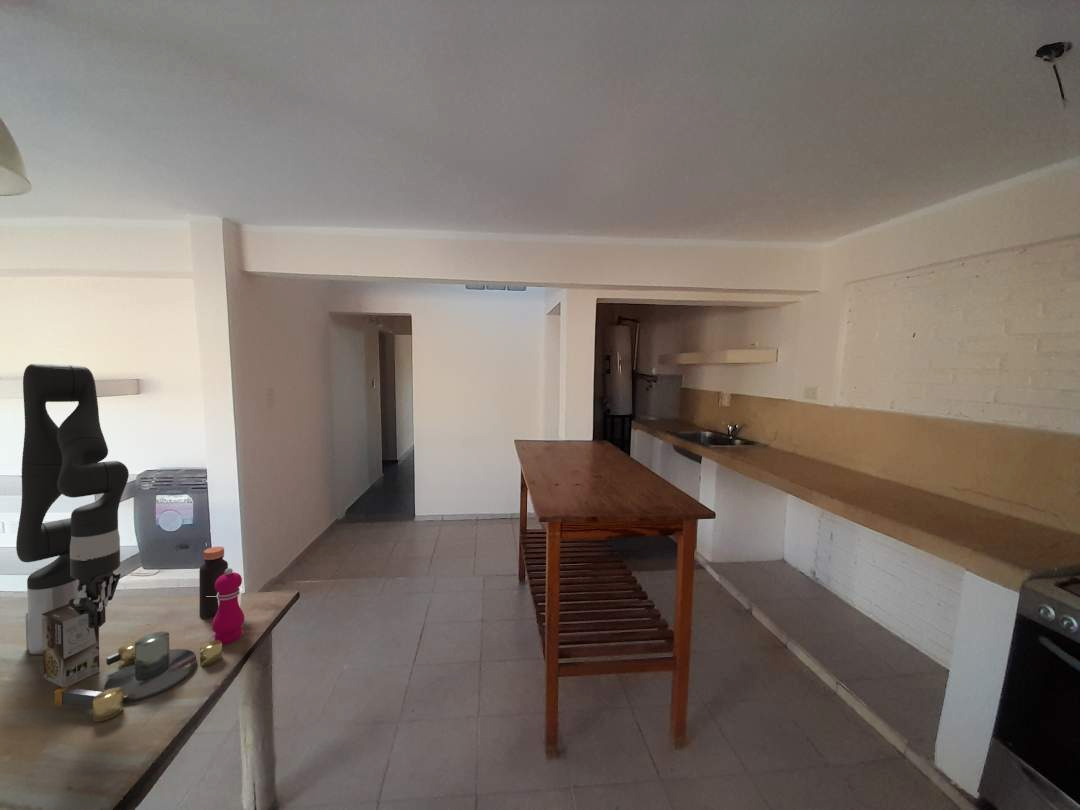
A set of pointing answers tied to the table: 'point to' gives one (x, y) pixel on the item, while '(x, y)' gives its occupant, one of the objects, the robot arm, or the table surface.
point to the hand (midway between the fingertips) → (97, 625)
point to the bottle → (211, 580)
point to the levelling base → (153, 684)
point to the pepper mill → (228, 608)
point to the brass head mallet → (92, 701)
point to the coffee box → (68, 646)
